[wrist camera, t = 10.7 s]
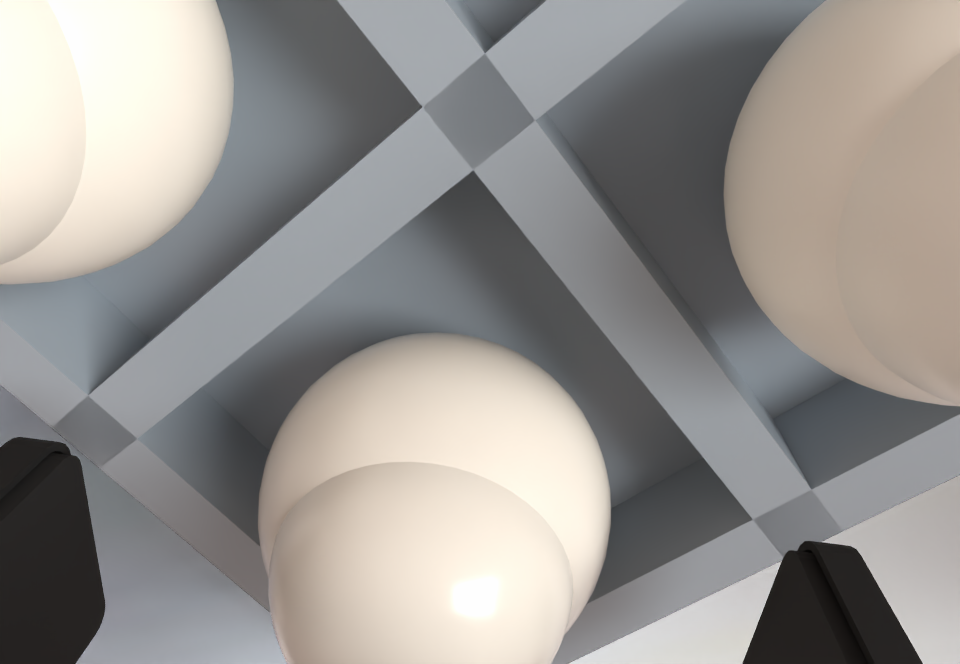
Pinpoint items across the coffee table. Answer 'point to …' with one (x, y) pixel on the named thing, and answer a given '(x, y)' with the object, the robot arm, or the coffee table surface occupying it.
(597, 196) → the carton
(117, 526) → the coffee table surface
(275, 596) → the egg
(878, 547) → the coffee table surface
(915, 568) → the coffee table surface
